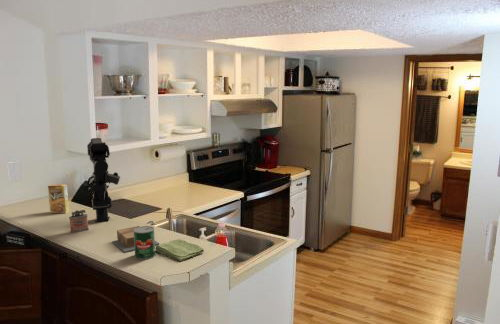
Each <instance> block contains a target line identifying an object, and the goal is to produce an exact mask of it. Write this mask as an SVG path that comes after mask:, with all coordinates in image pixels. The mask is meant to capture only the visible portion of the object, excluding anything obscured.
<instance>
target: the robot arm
mask: <svg viewBox="0 0 500 324" xmlns="http://www.w3.org/2000/svg"><path fill="white" fill-rule="evenodd" d="M86 148H87V156H89V160H90V162H92V164H93V172H92V175H93V177H94V181H93V185H92V186H91V189H90V191H91V192H93V193H92V194H93V197H92V198H91V203H92V204H91V205H92V211H95V216H96V218H95V220H94V222H95V223H97V222H99V223H101V222H109V220H110V218H111V217H110V216H109V211H108V209H111V208H112V206H113V205H112V198H111V196H110V195H109V192H108V188H109V187H110V185H107V184H114V185H117V186H118V184H119V182H120V178H121V176H120V175H119V173H118V172H114V173H113V174H112V173H109V171H108V169H109V164H108V163H107V158H110V156H111V155H110V154H111V153H110V147H109V146H108V144H107V143H106V142H104V141H103V142H102V137H101V138H100V137H94V138H90V142H89V143H88V144H87V147H86Z"/></svg>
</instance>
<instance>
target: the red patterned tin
mask: <svg viewBox="0 0 500 324" xmlns="http://www.w3.org/2000/svg"><path fill="white" fill-rule="evenodd" d="M68 219H69V225H70V227H69V228H70V234H77V233H83V232H87V231H89V226H88V225H89V223H88V214H87V213H86V209H81V210H78V209H77V210H74V211H71V216H69V217H68Z"/></svg>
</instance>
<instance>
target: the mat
mask: <svg viewBox="0 0 500 324" xmlns="http://www.w3.org/2000/svg"><path fill="white" fill-rule="evenodd" d="M112 243H113V245H115V246H116V247H117V248H118V249H119V250H120V251H121V252H123V253H125V254H126V253H130V252H135V246H133V247H129V248H127V247H126V246H125V245H124V244H123V243H121V242H120V241H119V240H118V239H116V240H112ZM157 245H160V243H159V242H158V241H157V240H155V247H156V246H157Z"/></svg>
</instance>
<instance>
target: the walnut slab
mask: <svg viewBox="0 0 500 324" xmlns="http://www.w3.org/2000/svg"><path fill="white" fill-rule="evenodd" d="M138 227H141V226H139V225H137V226H132V227H127V228H121V229H117V230H116V237H117V238H116V240H119V241H120V242H121V243H123V244H124V245H125V246H126V247H127V248H129V247H133V246H135V245H134V229H135V228H138Z"/></svg>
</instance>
